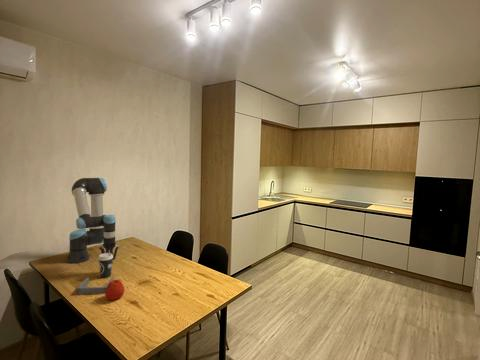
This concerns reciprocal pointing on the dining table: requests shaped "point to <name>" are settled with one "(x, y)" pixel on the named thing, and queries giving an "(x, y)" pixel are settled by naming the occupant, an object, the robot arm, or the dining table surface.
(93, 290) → the bay
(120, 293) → the apple
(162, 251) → the dining table surface
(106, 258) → the coffee cup
